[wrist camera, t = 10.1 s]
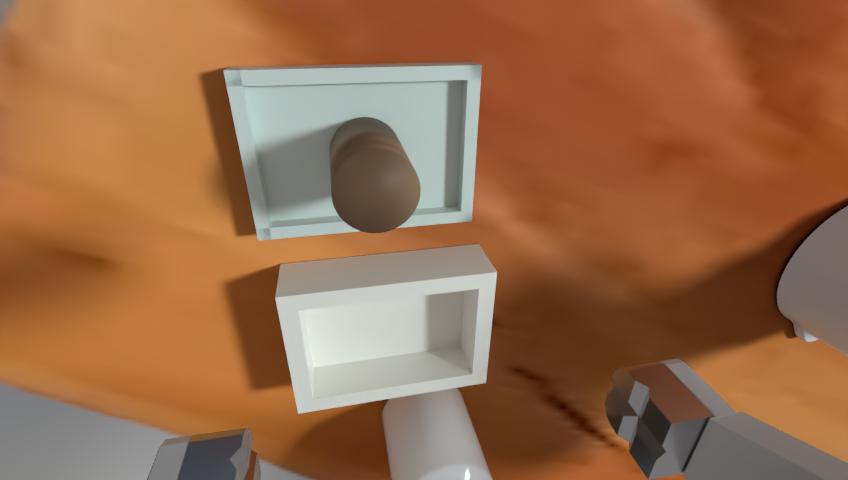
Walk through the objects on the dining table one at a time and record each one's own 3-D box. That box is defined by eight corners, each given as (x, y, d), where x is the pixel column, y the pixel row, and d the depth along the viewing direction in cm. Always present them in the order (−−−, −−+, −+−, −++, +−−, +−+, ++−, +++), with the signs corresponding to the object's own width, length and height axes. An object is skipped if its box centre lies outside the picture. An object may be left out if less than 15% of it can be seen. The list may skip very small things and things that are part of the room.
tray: (473, 62, 26) (481, 64, 25) (465, 211, 31) (471, 221, 30) (229, 66, 24) (223, 70, 22) (261, 229, 28) (258, 240, 27)
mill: (399, 115, 26) (420, 147, 20) (401, 183, 28) (420, 228, 23) (325, 118, 25) (326, 153, 20) (333, 188, 27) (336, 237, 22)
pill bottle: (447, 439, 43) (483, 562, 33) (372, 436, 40) (388, 569, 31) (475, 382, 40) (523, 500, 30) (395, 375, 37) (420, 502, 28)
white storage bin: (478, 243, 32) (497, 272, 29) (470, 348, 37) (485, 382, 34) (280, 264, 30) (275, 297, 26) (300, 373, 35) (298, 413, 31)
